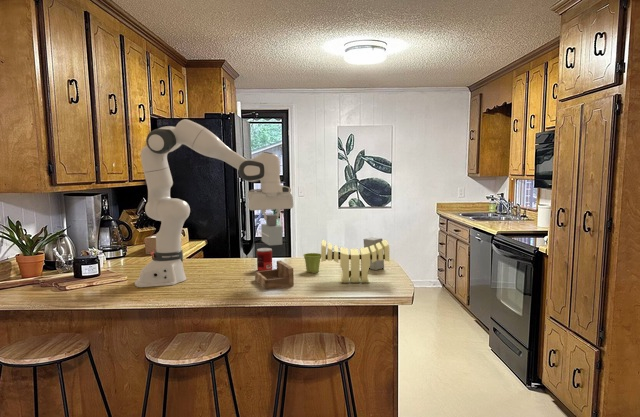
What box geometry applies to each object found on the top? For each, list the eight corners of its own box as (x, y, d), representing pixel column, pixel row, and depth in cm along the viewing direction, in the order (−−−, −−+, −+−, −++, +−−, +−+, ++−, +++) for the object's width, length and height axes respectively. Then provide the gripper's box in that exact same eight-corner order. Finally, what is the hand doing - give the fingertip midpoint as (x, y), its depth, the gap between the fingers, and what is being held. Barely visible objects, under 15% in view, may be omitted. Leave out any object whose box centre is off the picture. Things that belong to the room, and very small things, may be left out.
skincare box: (384, 268, 210) (384, 238, 208) (374, 270, 206) (374, 239, 204) (373, 265, 217) (373, 236, 215) (363, 267, 213) (363, 237, 211)
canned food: (273, 268, 214) (273, 247, 213) (270, 272, 206) (269, 250, 205) (259, 268, 215) (259, 247, 214) (255, 272, 207) (255, 250, 206)
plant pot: (315, 268, 213) (315, 252, 212) (325, 272, 205) (325, 255, 204) (300, 271, 208) (299, 254, 207) (309, 274, 200) (309, 257, 199)
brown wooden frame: (255, 279, 191) (254, 263, 190) (280, 276, 196) (280, 260, 195) (266, 289, 175) (265, 271, 174) (293, 285, 180) (293, 268, 179)
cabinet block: (269, 245, 177) (268, 217, 176) (261, 240, 188) (261, 214, 187) (282, 244, 180) (282, 216, 178) (274, 240, 190) (273, 213, 189)
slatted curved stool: (321, 284, 181) (321, 245, 180) (323, 275, 197) (322, 239, 196) (389, 284, 180) (389, 244, 178) (385, 275, 196) (385, 239, 194)
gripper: (249, 189, 175) (250, 221, 176) (294, 188, 183) (294, 219, 184) (246, 189, 180) (246, 220, 182) (289, 188, 189) (290, 217, 190)
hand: (271, 219), depth 183 cm, fingers closed on cabinet block, 3 cm apart
